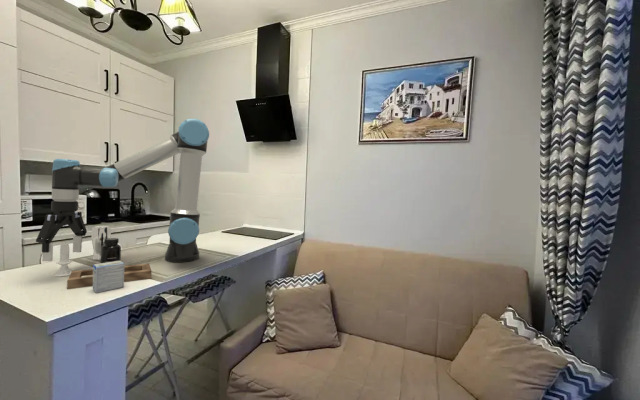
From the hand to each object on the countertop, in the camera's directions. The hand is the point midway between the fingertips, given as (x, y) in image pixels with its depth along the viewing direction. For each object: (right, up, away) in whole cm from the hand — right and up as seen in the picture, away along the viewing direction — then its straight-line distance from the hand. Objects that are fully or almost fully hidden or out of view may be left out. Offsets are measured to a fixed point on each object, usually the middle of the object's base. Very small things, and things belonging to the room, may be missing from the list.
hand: (63, 256), depth 106 cm
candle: (0, -7, 0) cm, 7 cm away
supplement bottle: (+9, -7, +12) cm, 17 cm away
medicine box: (+25, -9, -10) cm, 29 cm away
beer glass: (-3, -6, +23) cm, 24 cm away
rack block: (+20, -8, -1) cm, 21 cm away
